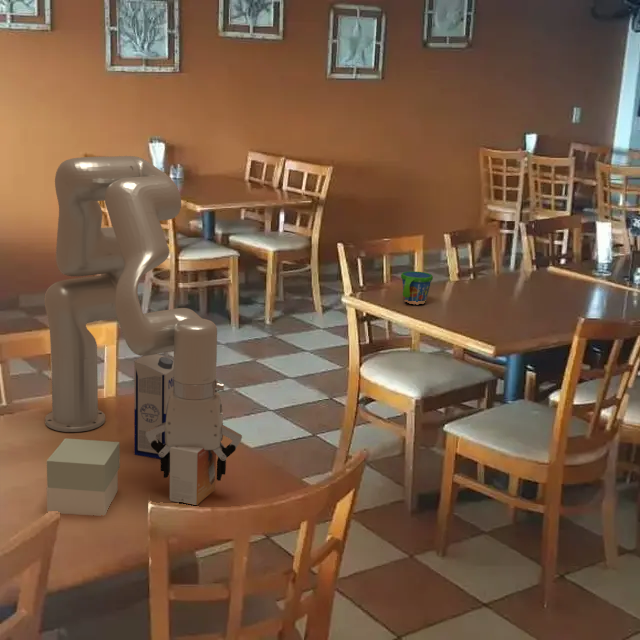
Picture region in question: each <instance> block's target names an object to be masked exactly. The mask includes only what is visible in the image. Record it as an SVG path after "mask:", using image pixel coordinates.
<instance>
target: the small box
mask: <svg viewBox="0 0 640 640" xmlns="http://www.w3.org/2000/svg"><path fill="white" fill-rule="evenodd" d="M216 476H217V455H216V453H215V452H214V451H213V450H204V448H200V447H176V446H172V447H171V448H170V473H169V501H170V502H175V503H179V502H184V503H190V504H194V505H197V506H198V505H200V503H201V502H203V500H205V499H206V498H207V497H208V496H210V495H211V494H212V493H214V492H215V490H216Z"/></svg>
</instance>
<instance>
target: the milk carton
mask: <svg viewBox="0 0 640 640" xmlns="http://www.w3.org/2000/svg"><path fill="white" fill-rule="evenodd" d="M133 362H134V364H133V365H134V366H133V367H134V374H133V375H134V379H133V380H134V381H133V382H134V384H133V385H134V386H133V387H134V403H133V404H134V413H133V414H134V418H133V419H134V422H133V424H134V427H133V428H134V431H133V432H134V436H133V437H134V439H133V440H134V445H133V447H134V449H133V450H134V451H133V453H134V455H135V456H141V457H144V458H145V457H146V458H151V459H157V460H161V457H160V456H159V454H158V453H157V452H156V451H155V450H154V449H153V448H152V447H151V444H150V442H149V441H148V439H147V437H146V435H145V434H146V432H147V430H148V429H151V428H153V427H155V426H158V425H160V424H162V423H165V422H166V414H167V406H168V401H169V396H170V392H171V391H173V384H174V360H172V358H171V359H170V358H168V357H165V356H163V355H161V354H160V353H159V354H154V355H148V356H140V357H138V358H137V359H135V360H134V361H133ZM156 438H157V439H158V440H159V441H160V442H161V443H162V444H163V445H164V444H165V431H164V432H162V433H160V434H157V435H156ZM169 453H170V451H169Z"/></svg>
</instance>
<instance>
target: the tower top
mask: <svg viewBox="0 0 640 640" xmlns="http://www.w3.org/2000/svg"><path fill="white" fill-rule="evenodd" d="M120 443H121V442H120V441H110V440H109V441H106V440H95V439H80V438H79V439H78V438H64V439H63V441H62V442H61V443H60V444H59V445H58V446H57V448H56V449H55V450H54V451H53V452H52V454H51V455H50V456H49V457H48V458H47V460H46V483H47V484H46V486H47V487H46V489H47V488H60V489H73V490H87V491H101V492H105V490H106V489H107V487H108V486H109V484H110V482H111V481H112V479H113V478H114V476H115V474H116V473H117V471H119V469H120V468H121V467H120V466H121V465H120V464H121V463H120V461H121V460H120V459H121V457H120V454H121V453H120V451H121V450H120V448H121V446H120Z"/></svg>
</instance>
